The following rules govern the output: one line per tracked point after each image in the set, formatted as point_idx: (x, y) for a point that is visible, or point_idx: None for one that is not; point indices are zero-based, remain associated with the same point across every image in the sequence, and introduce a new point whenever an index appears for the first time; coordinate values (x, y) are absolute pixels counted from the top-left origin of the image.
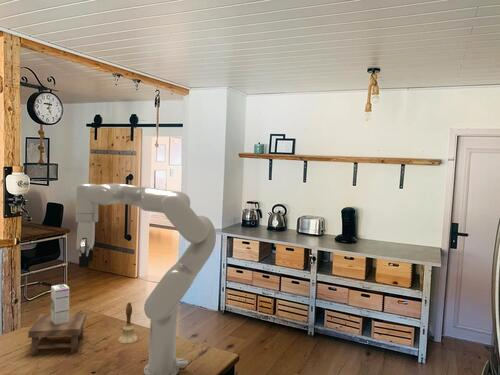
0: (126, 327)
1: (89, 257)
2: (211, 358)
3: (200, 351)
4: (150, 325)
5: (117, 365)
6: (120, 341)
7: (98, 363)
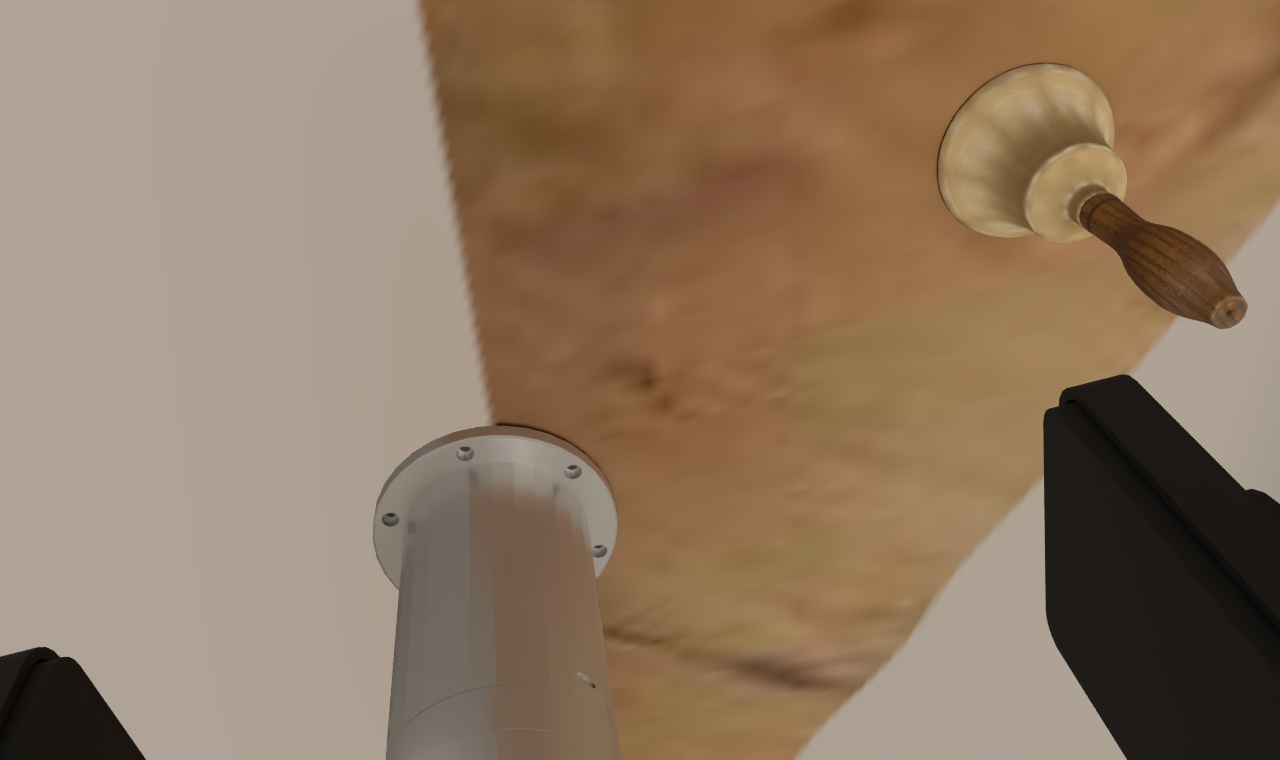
0: (1058, 190)
1: (1105, 656)
2: (697, 725)
3: (791, 660)
4: (451, 734)
5: (540, 221)
6: (970, 109)
7: (555, 56)
